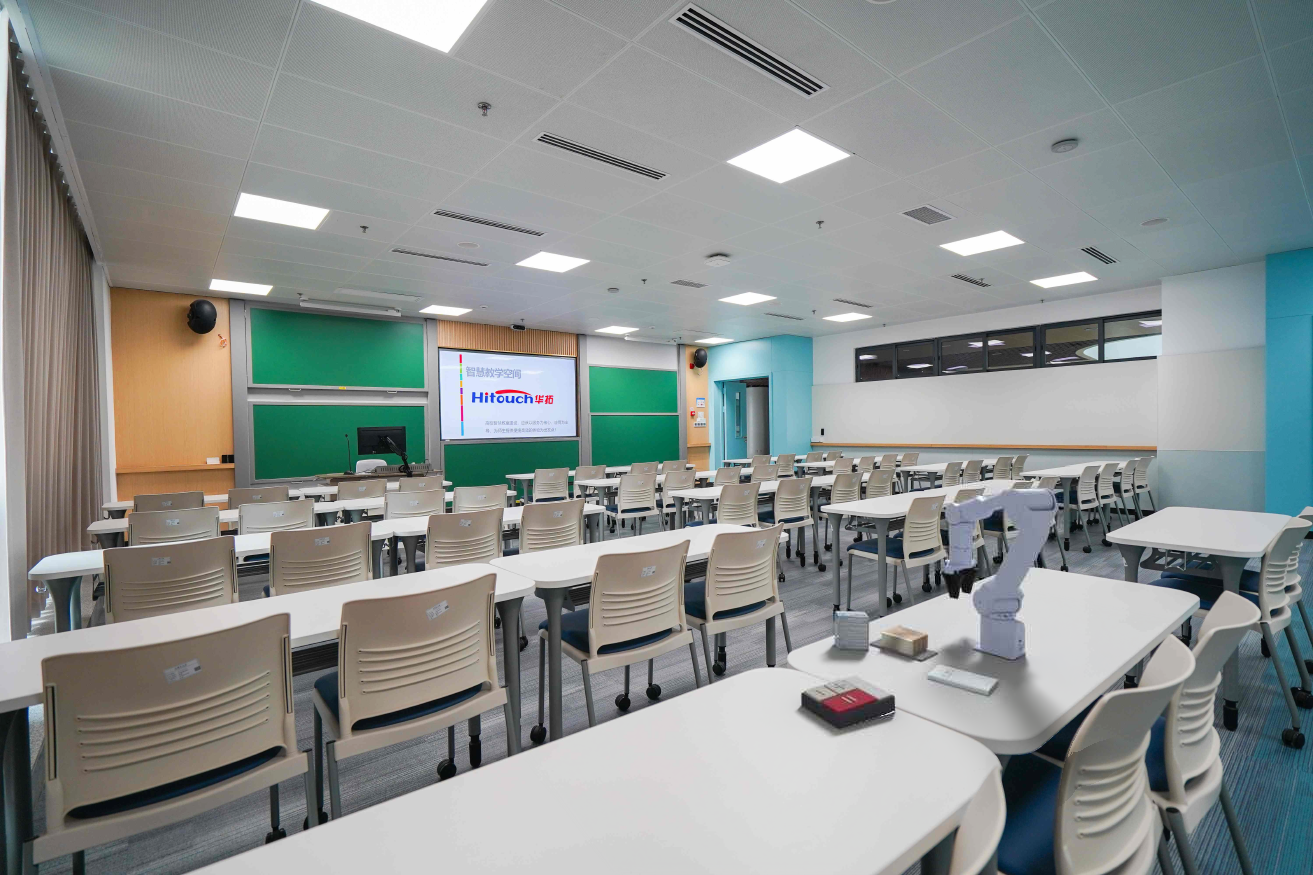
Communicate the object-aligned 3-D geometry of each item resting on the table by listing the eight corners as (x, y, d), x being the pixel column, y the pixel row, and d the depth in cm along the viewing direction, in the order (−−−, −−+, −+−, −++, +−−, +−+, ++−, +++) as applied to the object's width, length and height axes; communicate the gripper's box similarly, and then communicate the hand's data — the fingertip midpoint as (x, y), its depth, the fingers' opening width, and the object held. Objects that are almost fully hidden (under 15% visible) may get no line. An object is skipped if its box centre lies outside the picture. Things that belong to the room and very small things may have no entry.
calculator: (799, 689, 122) (854, 671, 128) (800, 709, 122) (855, 691, 128) (838, 712, 112) (895, 692, 118) (839, 734, 112) (896, 713, 119)
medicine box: (865, 644, 155) (865, 611, 155) (869, 650, 151) (869, 616, 151) (834, 643, 156) (834, 610, 156) (837, 649, 152) (837, 615, 152)
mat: (937, 653, 149) (937, 652, 149) (921, 661, 144) (921, 659, 144) (886, 637, 160) (886, 636, 160) (869, 644, 155) (869, 642, 155)
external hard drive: (988, 698, 126) (927, 680, 135) (998, 685, 132) (939, 669, 141) (988, 690, 126) (927, 673, 135) (998, 678, 132) (939, 662, 141)
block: (927, 634, 152) (911, 641, 147) (927, 647, 152) (911, 655, 147) (898, 625, 158) (881, 632, 153) (898, 638, 158) (881, 645, 153)
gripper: (958, 541, 172) (957, 587, 173) (933, 547, 163) (933, 596, 164) (983, 545, 167) (983, 593, 167) (960, 552, 158) (959, 602, 158)
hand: (960, 595), depth 165 cm, fingers open, 7 cm apart
